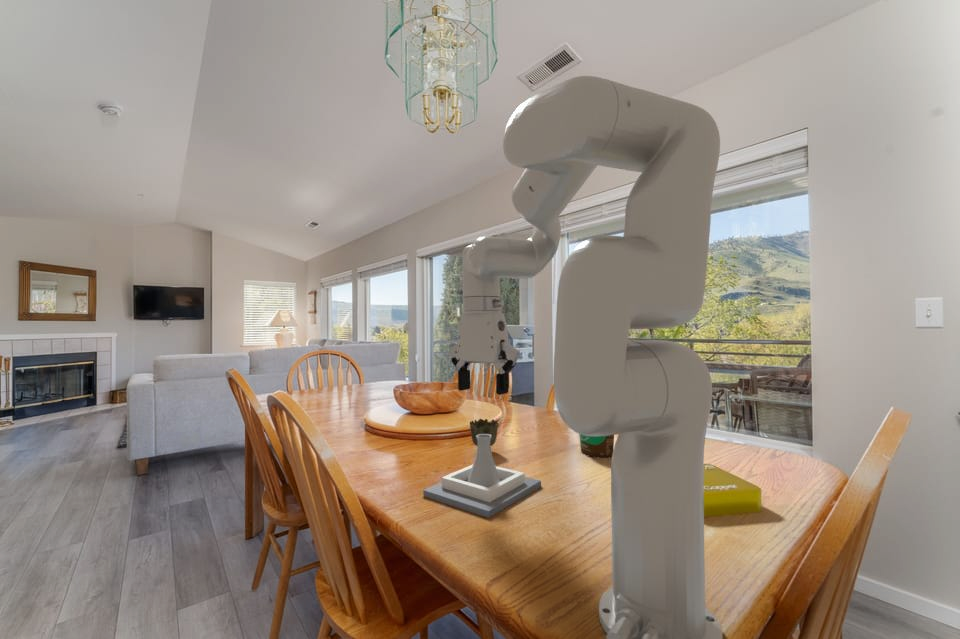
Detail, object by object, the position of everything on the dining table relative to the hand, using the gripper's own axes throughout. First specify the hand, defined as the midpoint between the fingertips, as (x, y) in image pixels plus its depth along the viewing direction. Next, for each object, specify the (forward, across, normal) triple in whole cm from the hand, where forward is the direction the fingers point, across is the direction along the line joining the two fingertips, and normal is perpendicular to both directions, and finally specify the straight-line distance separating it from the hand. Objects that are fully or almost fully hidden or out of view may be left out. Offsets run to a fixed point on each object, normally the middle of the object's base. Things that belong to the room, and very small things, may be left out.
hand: (482, 391), depth 87 cm
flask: (+19, 0, 0) cm, 19 cm away
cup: (+20, +16, -21) cm, 33 cm away
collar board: (+20, 0, 0) cm, 20 cm away
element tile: (+21, -35, -22) cm, 47 cm away
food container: (+20, -7, -36) cm, 42 cm away
